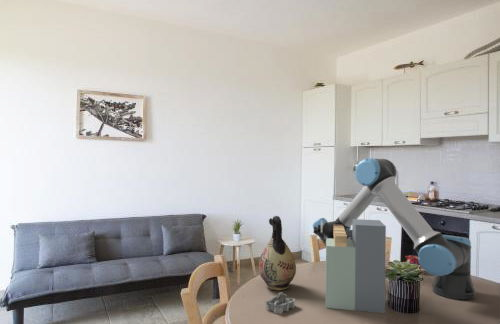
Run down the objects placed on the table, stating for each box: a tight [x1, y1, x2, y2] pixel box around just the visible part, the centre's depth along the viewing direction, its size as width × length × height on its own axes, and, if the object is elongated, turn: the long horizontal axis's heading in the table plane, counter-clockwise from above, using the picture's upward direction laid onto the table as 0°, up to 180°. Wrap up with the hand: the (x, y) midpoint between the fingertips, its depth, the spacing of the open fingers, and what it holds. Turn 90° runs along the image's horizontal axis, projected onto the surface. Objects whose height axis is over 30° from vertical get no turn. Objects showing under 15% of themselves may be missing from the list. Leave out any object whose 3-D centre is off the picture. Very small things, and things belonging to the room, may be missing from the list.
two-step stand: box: [324, 218, 387, 314], centre depth 132 cm, size 14×20×30 cm
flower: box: [405, 254, 423, 270], centre depth 173 cm, size 10×9×8 cm
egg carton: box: [264, 291, 296, 315], centre depth 126 cm, size 11×8×4 cm
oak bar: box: [333, 224, 347, 247], centre depth 138 cm, size 24×4×4 cm, turn 168°
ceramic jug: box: [258, 215, 297, 291], centre depth 147 cm, size 17×15×30 cm
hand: (338, 224), depth 143 cm, fingers open, 13 cm apart
